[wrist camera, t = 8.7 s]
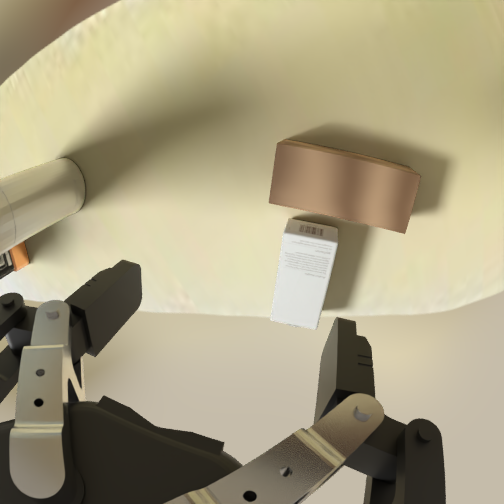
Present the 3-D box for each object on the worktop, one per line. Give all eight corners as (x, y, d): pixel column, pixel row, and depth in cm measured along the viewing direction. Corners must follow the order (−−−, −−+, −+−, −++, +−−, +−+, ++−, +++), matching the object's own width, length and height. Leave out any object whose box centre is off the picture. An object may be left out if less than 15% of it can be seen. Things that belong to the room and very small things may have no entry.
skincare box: (288, 216, 36) (274, 300, 42) (282, 231, 32) (267, 321, 38) (341, 227, 35) (319, 310, 41) (341, 244, 31) (316, 332, 37)
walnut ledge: (277, 190, 35) (268, 203, 31) (285, 139, 33) (277, 143, 28) (396, 217, 33) (405, 233, 29) (409, 167, 30) (420, 176, 26)
